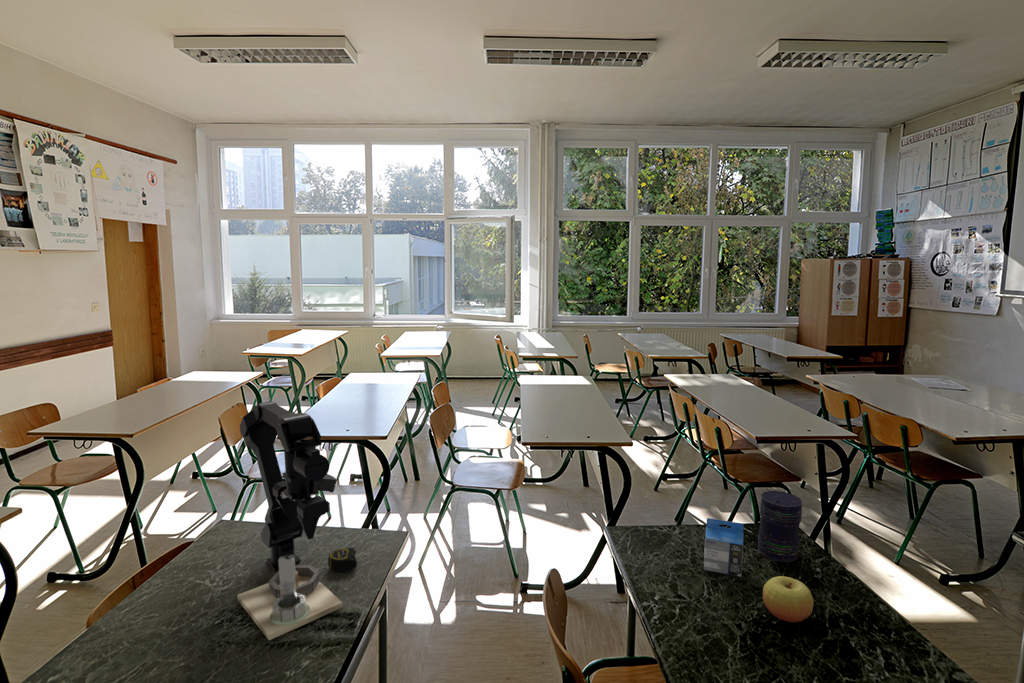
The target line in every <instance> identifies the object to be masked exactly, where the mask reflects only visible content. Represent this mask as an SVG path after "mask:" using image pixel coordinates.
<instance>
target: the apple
mask: <svg viewBox="0 0 1024 683" xmlns="http://www.w3.org/2000/svg"><path fill="white" fill-rule="evenodd" d="M762 601H763V604H764V606H765V607H766V609H767V610H768V612H769V613H770V614H771V615H773V616H774V617H776V618H777V619H779V620H781V621H785V622H789V623H798V622H799V623H800V622H802V621H804V620H805V619H808V618H809V617H810V615H811V614H812V612H813V610H814V609H813V608H814V598H813V595H812V593H811V590H810V589H809V587H808V586H807V585H805V584H804V583H803V582H802V581H800V580H797V579H794V578H793V577H789V576H780V575H779V576H774V577H772V578H770V579H769V580H768V581H766V582H765V584H764V585H763V588H762Z"/></svg>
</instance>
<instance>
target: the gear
mask: <svg viewBox="0 0 1024 683" xmlns="http://www.w3.org/2000/svg"><path fill="white" fill-rule="evenodd" d="M278 562H279V570H278V571H279V577H280V593H281V597H279V598H278V599H276V600H275V601H274V603H273V607H272V608H273V618H274V619H275V620H277V621H279V622H282V623H283V622H289V621H294V619H295V620H297V619H298V618H300V617H301V616H303V615H304V613H305V611H306V597H305V595H302V594H300V593H297V588H296V572H295V565H296V564H295V556H294V555H291V554H288V555H283V556H281V557H280V558H279V559H278ZM293 604H294V607H290V608H286V606H290V605H293Z"/></svg>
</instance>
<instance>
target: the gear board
mask: <svg viewBox="0 0 1024 683" xmlns="http://www.w3.org/2000/svg"><path fill="white" fill-rule="evenodd" d="M295 572H296V588H297V593H300V594H302V595H305V597H306V611H305V613H304V615H303V616H301V617H300V618H298V619H297V620H295V619H294V621H289V622H283V623H282V622H279V621H277V620H275V619H274V618H273V608H272V607H273V603H274V601H275V600H276V599H278V598H279V597H281V593H280V577H279V570H277V572H275V574H274V575H273V576H272V577H271V579H270V580H268V582H267V583H265V584H262V585H260V586H257V587H254V588H252V589H248V590H247V591H244V592H242V593H238V594H237V595H236V597H237V601H238V602H239V604H240V605H241V606H242V607H243V608H244V610H245V611H246V613H247V614H248V615H249V617H250V618H251V619H252V621H253V622H254V623H255V624H256V626H257V627H258V628H259V629H260V631H261V632H262V634H263V635H264V636H265V637H266V639H267V640H268V641H271V640H273V639H275V638H278V637H280V636H282V635H284V634H287V633H288V632H289V633H290V631H293V630H295V629H299V628H300V627H302V626H304V625H306V624H309V623H312V622H313V621H316V620H318V619H320V618H321V617H325V616H326V615H328V614H331V613H333V612H335V611H338V610H340V609H342V608H343V602H342V601H341V600H340V598H338V597H337V596H336V595H335V594H334V593H333V592H332V591H331V590H329V588H328V587H326V586H325V584H323V583H322V582H321V581H320V572H319V570H318V569H316V568H315V567H314V566H313V565H311V564H310V565H309V564H308V565H305V564H304V565H303V564H302V565H301V564H298V565H297V564H295ZM290 607H294V604H293V605H290V606H286V608H290Z"/></svg>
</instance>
